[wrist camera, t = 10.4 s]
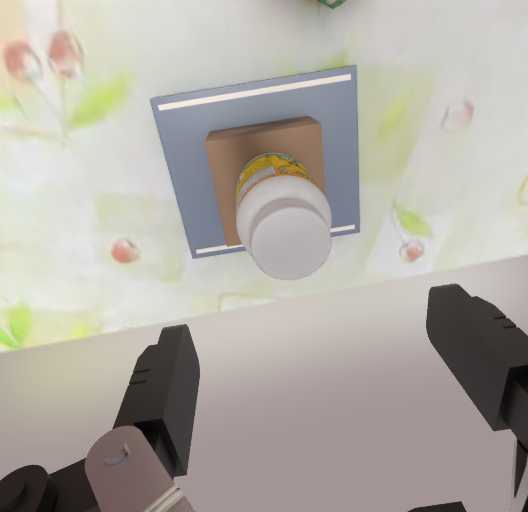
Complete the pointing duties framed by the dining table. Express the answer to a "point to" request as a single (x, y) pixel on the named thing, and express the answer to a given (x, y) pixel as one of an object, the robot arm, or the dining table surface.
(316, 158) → the walnut plinth
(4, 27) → the dining table surface
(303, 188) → the supplement bottle
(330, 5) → the stack of blocks
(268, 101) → the blueprint board
